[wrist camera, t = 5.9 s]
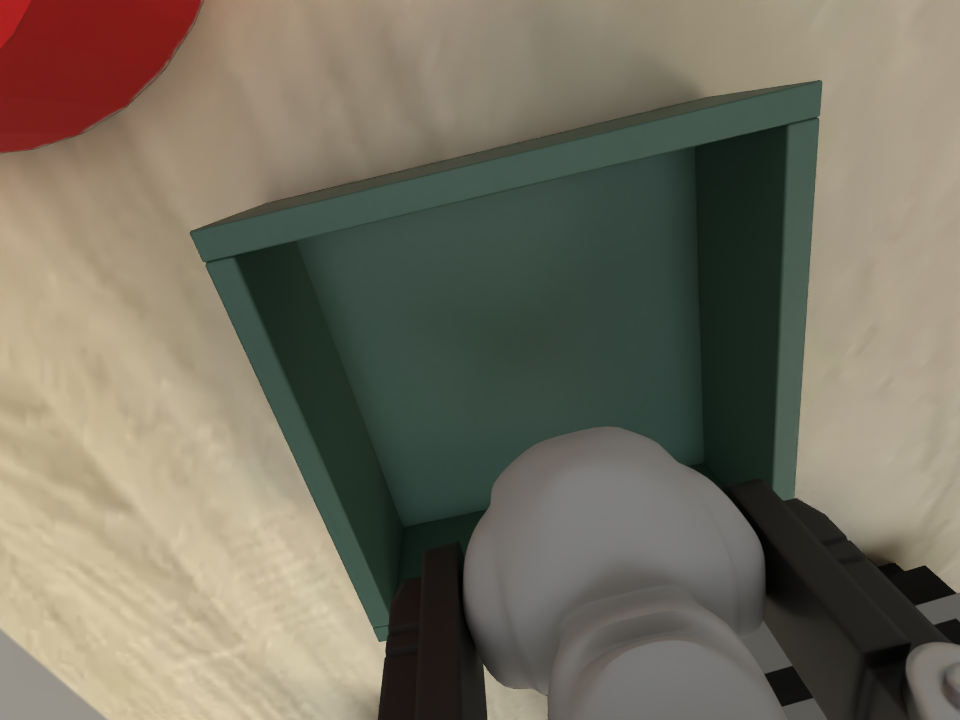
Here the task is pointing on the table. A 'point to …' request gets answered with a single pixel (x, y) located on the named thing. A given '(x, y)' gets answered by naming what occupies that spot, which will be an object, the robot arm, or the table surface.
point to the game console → (920, 585)
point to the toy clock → (80, 62)
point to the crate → (531, 315)
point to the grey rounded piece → (618, 585)
